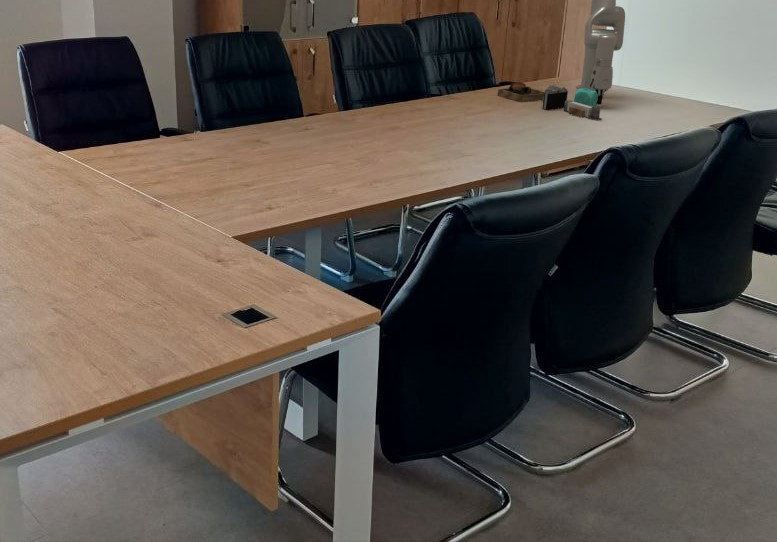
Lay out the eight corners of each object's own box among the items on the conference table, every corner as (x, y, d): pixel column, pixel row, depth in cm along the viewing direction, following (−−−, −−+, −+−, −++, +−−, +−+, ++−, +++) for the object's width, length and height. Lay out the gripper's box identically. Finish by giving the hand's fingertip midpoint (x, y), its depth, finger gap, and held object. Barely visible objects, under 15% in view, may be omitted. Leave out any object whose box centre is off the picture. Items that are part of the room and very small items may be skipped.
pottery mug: (503, 99, 422) (504, 82, 423) (512, 106, 430) (513, 89, 431) (527, 96, 415) (528, 79, 417) (535, 103, 423) (537, 86, 424)
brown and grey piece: (568, 113, 396) (570, 101, 394) (579, 112, 400) (581, 100, 398) (593, 121, 385) (595, 108, 383) (604, 119, 388) (606, 107, 386)
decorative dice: (572, 107, 409) (575, 90, 406) (579, 105, 415) (582, 87, 412) (589, 110, 405) (592, 92, 402) (596, 108, 411) (598, 90, 408)
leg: (593, 116, 392) (594, 107, 390) (587, 117, 390) (588, 107, 388) (568, 109, 404) (569, 100, 402) (562, 109, 402) (563, 100, 401)
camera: (555, 104, 414) (558, 82, 410) (567, 107, 410) (570, 85, 406) (535, 107, 405) (537, 85, 401) (547, 110, 400) (550, 87, 396)
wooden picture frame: (497, 95, 427) (498, 89, 426) (526, 93, 436) (527, 87, 435) (520, 102, 414) (520, 95, 413) (549, 99, 424) (550, 93, 423)
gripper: (597, 65, 400) (591, 106, 407) (621, 63, 408) (615, 104, 415) (585, 62, 406) (579, 103, 413) (608, 61, 414) (602, 101, 421)
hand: (597, 103), depth 414 cm, fingers closed
